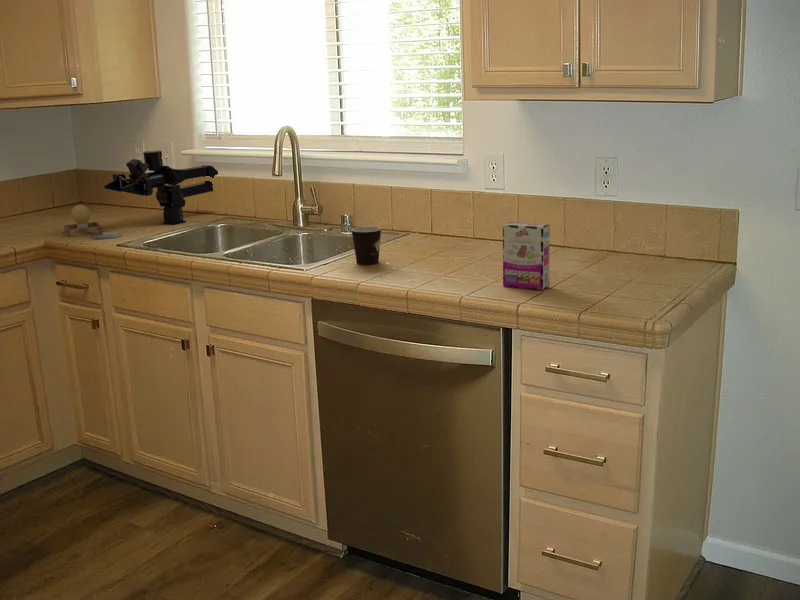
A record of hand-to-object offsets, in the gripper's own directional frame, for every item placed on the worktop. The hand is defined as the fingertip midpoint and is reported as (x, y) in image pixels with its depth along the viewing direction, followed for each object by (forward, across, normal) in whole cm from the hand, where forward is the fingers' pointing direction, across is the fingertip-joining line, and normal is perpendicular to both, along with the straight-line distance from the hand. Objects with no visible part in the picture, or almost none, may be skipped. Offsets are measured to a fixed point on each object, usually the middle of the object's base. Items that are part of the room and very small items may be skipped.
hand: (112, 188), depth 316 cm
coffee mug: (-9, +107, +13) cm, 108 cm away
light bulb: (+4, -15, +17) cm, 23 cm away
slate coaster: (+4, -1, +16) cm, 17 cm away
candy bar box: (-5, +160, +10) cm, 160 cm away
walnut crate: (+4, -15, +17) cm, 23 cm away
